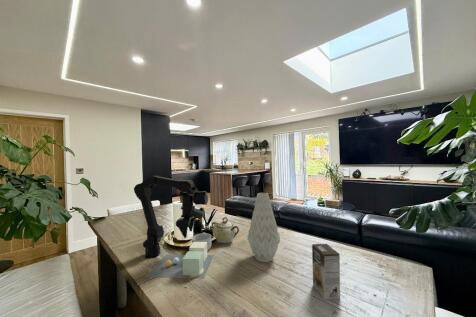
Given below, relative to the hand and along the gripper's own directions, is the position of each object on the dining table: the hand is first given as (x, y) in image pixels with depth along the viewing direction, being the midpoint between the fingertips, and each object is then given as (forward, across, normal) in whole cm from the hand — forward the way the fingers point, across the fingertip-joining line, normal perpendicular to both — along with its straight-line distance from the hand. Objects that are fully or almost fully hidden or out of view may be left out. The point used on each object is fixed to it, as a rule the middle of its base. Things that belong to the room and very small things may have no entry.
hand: (188, 234), depth 105 cm
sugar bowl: (+12, +22, -16) cm, 30 cm away
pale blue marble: (+11, -8, +4) cm, 14 cm away
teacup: (+12, +10, -5) cm, 17 cm away
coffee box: (+12, -24, -61) cm, 67 cm away
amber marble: (+11, -10, +6) cm, 17 cm away
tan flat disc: (+11, -14, -7) cm, 19 cm away
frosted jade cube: (+11, -14, -7) cm, 19 cm away
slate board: (+12, -8, 0) cm, 15 cm away
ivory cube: (+11, -2, -6) cm, 13 cm away
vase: (+12, +1, -39) cm, 41 cm away
